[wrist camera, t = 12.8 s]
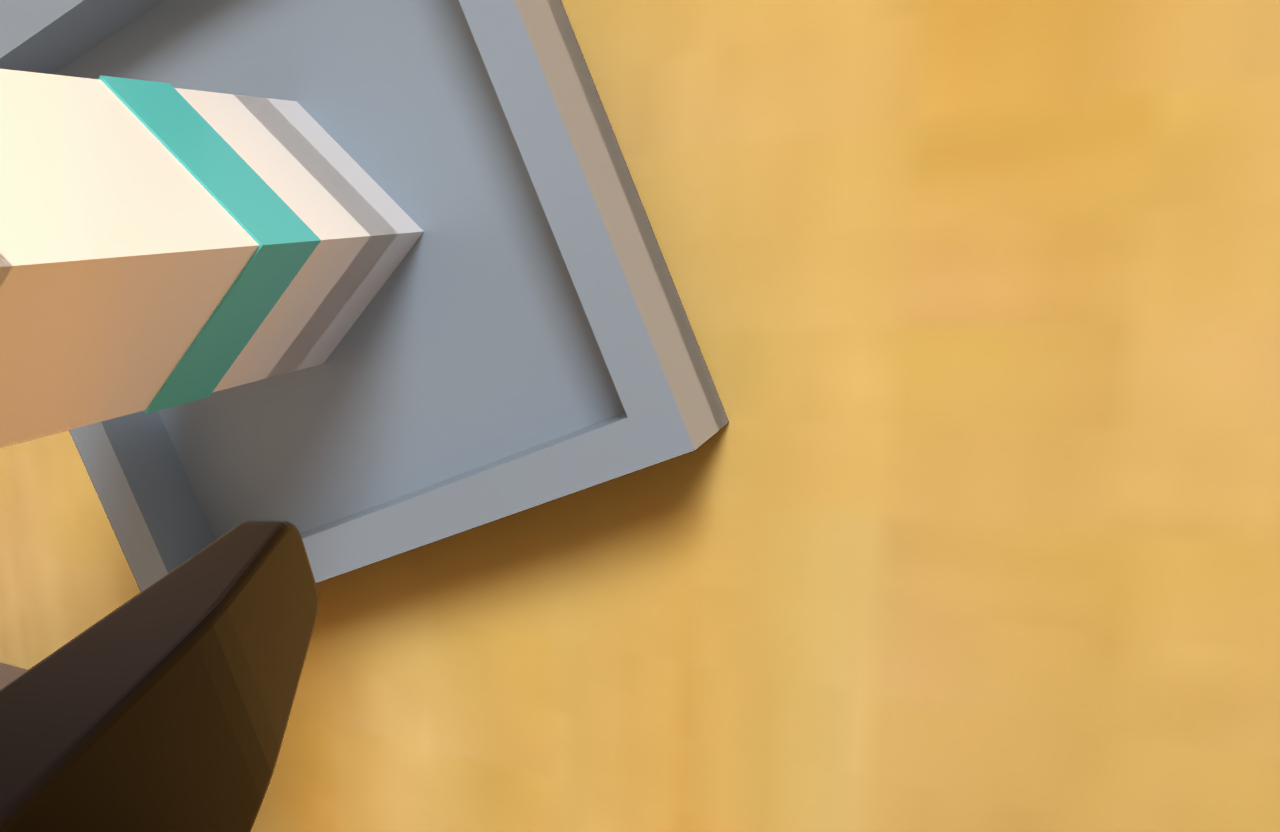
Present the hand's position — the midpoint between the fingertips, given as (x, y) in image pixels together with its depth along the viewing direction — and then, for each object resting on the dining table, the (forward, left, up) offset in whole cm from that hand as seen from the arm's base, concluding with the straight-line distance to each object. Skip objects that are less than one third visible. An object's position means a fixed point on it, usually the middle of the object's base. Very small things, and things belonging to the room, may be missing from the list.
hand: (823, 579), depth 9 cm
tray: (+7, +11, -13) cm, 18 cm away
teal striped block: (+7, +11, -12) cm, 18 cm away
